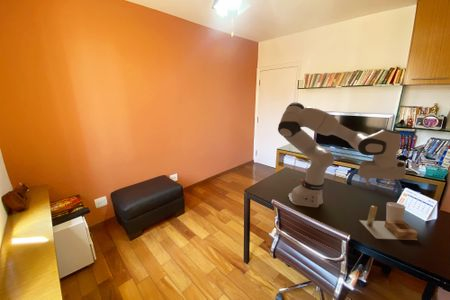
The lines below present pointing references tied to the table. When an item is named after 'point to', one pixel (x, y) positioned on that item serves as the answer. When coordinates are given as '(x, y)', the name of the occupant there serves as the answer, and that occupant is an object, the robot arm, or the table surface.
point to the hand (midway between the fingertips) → (377, 185)
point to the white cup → (395, 211)
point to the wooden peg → (371, 216)
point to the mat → (380, 230)
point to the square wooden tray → (401, 229)
